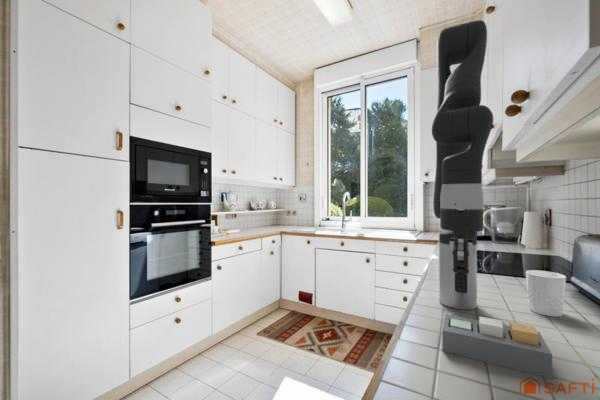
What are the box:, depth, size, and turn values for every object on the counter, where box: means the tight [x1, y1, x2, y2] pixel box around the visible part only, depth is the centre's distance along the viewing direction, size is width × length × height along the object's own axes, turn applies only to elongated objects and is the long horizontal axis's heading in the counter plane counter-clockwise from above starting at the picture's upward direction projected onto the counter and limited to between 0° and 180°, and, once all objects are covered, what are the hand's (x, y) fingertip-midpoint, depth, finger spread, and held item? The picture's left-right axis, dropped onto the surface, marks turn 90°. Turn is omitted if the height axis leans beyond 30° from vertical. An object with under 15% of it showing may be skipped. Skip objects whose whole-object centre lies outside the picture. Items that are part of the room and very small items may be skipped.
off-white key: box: [478, 316, 504, 338], centre depth 53 cm, size 4×4×2 cm
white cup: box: [525, 269, 567, 317], centre depth 72 cm, size 8×8×10 cm
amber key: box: [509, 321, 539, 345], centre depth 50 cm, size 4×4×2 cm
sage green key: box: [450, 319, 471, 331], centre depth 55 cm, size 4×4×2 cm
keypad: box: [442, 313, 553, 379], centre depth 53 cm, size 9×16×4 cm, turn 59°
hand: (461, 291), depth 55 cm, fingers closed
